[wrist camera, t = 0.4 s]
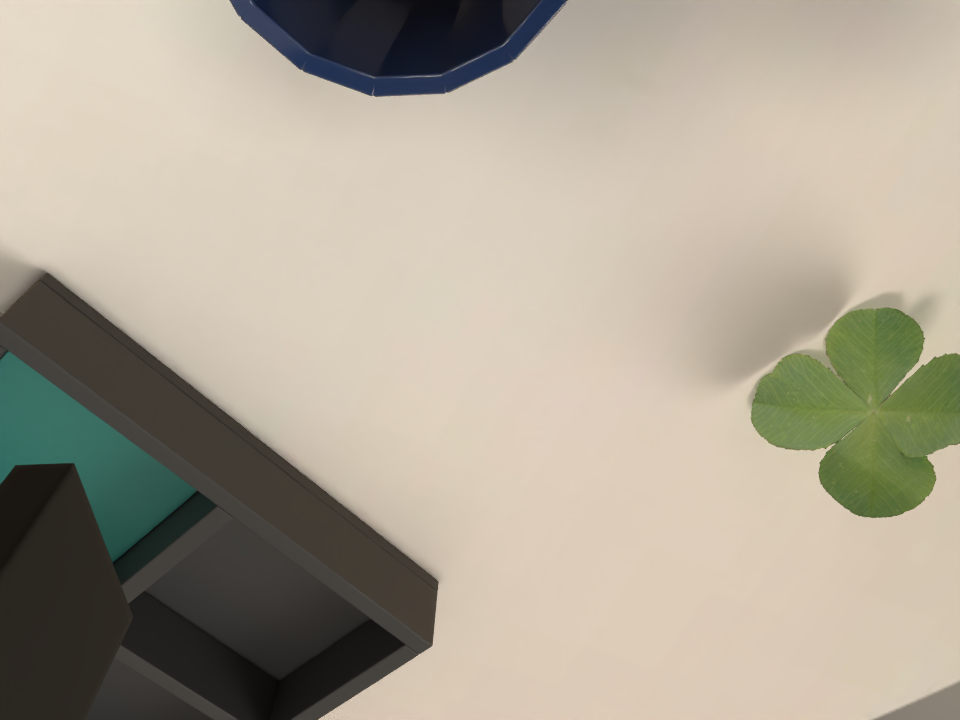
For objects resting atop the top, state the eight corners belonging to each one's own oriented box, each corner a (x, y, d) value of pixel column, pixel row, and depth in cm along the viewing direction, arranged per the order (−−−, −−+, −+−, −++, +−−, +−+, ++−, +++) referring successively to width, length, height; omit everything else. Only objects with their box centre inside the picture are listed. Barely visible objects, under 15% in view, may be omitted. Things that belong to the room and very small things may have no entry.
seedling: (832, 340, 38) (755, 308, 33) (1051, 336, 32) (993, 297, 27) (820, 510, 37) (740, 501, 32) (1042, 537, 31) (982, 531, 27)
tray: (47, 271, 32) (-3, 319, 28) (438, 581, 39) (433, 646, 36) (-207, 551, 39) (-269, 613, 36) (162, 768, 46) (138, 835, 43)
